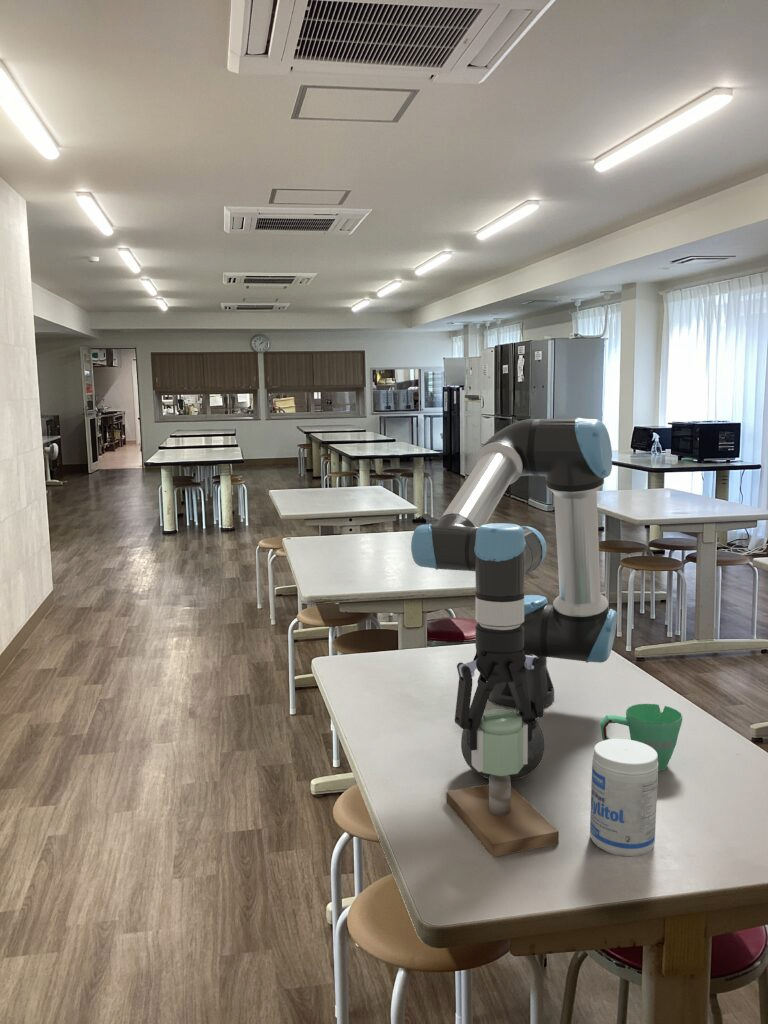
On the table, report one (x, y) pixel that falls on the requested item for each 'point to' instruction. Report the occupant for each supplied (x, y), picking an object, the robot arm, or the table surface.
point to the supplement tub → (624, 796)
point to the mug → (650, 728)
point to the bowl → (534, 753)
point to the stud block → (501, 817)
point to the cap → (502, 742)
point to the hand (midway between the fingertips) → (499, 764)
